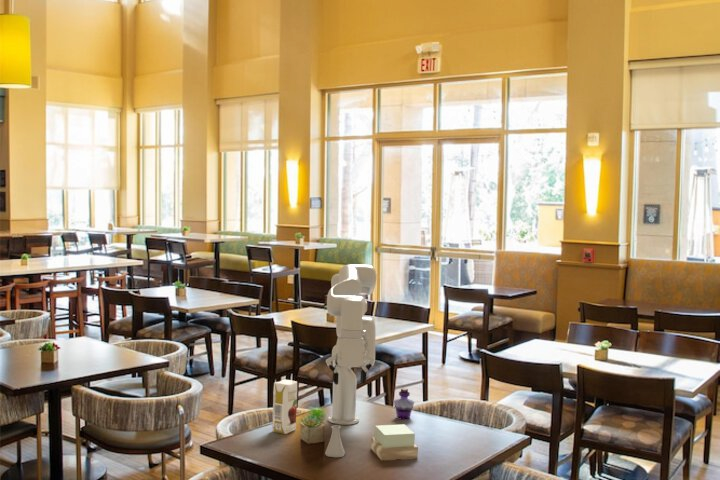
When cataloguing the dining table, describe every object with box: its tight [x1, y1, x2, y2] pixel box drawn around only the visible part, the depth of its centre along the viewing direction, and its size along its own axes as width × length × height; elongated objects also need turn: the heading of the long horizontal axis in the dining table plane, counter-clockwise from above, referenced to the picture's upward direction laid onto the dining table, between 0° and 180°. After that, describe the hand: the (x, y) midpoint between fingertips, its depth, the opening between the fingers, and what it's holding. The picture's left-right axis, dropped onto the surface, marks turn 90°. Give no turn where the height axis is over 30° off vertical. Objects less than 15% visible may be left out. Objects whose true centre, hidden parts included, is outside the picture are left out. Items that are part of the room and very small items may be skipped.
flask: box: [324, 424, 346, 458], centre depth 256 cm, size 7×7×10 cm
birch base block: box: [370, 436, 419, 461], centre depth 260 cm, size 13×13×4 cm
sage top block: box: [374, 423, 416, 448], centre depth 260 cm, size 11×11×4 cm
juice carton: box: [272, 378, 298, 435], centre depth 281 cm, size 8×9×19 cm
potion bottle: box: [393, 388, 415, 420], centre depth 306 cm, size 9×9×12 cm
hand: (349, 383), depth 255 cm, fingers open, 9 cm apart
